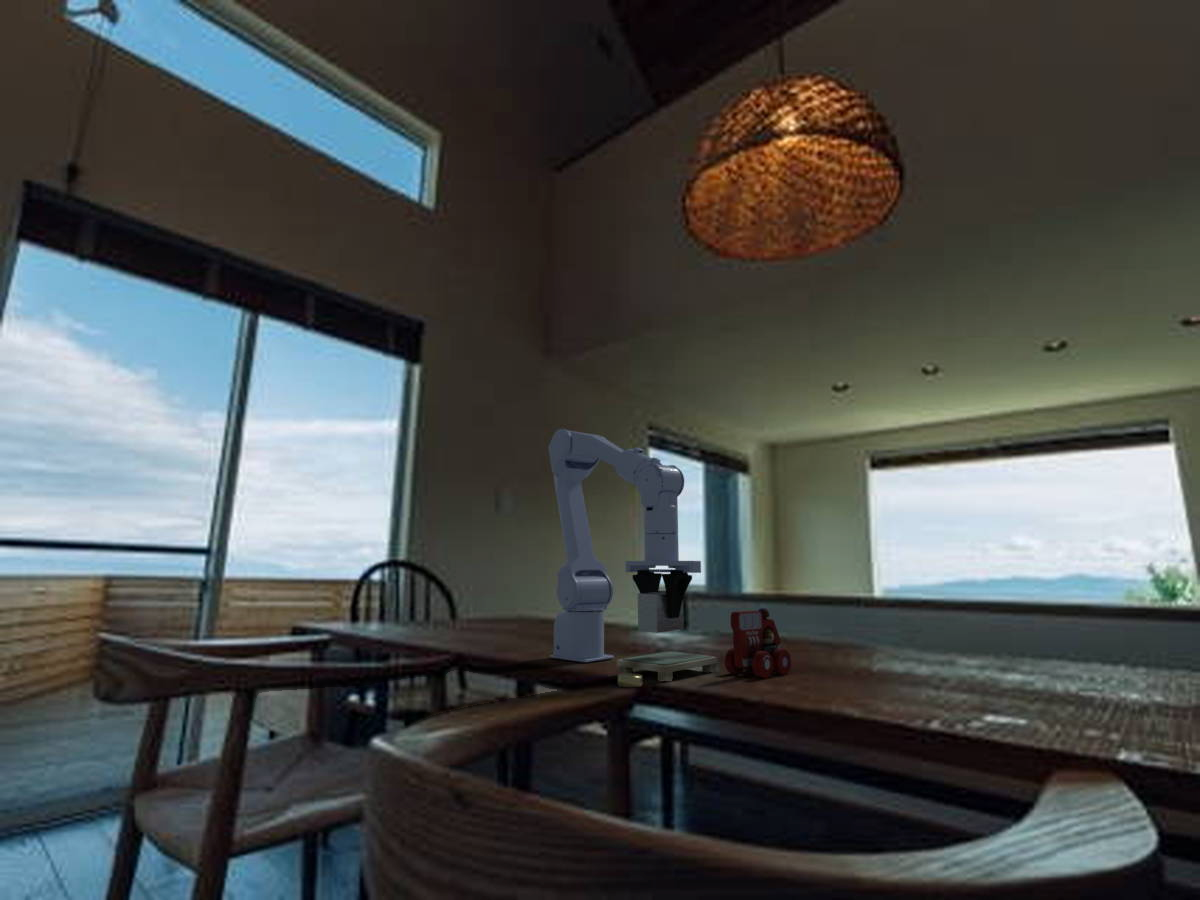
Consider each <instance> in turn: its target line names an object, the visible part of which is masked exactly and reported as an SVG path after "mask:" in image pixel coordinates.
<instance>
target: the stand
mask: <svg viewBox="0 0 1200 900" xmlns="http://www.w3.org/2000/svg"><path fill="white" fill-rule="evenodd" d="M717 663H718V656H713V655H707V654H706V655H705V654H697V653H690V652H689V653H688V652H681V651H680V652H679V651H672V650H669V651H668V650H667V651H662V652H661V651H660V652H655V653H651V654H650V653H649V654H643V655H638V656H629V657H625V658H620V659H617V660H616V666H618V674H619V673H623V674H629V673H633V669H637V670H642V671H643V670H645V671H650V672H657V681H658V680H664V681H667V680H671V679H674V678H673V676H674V675H673V672H677V671H682V670H687V669H688V670H689V669H693V668H697V667H701V668H702V670H701V671H706V672H705V673H709V672H712V673H716V672H717ZM715 671H716V672H715ZM633 674H634V673H633Z"/></svg>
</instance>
